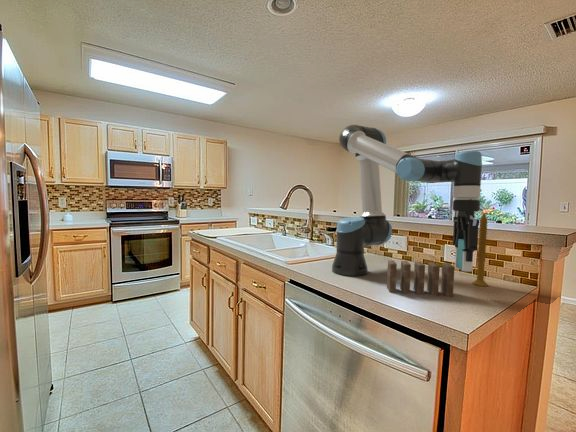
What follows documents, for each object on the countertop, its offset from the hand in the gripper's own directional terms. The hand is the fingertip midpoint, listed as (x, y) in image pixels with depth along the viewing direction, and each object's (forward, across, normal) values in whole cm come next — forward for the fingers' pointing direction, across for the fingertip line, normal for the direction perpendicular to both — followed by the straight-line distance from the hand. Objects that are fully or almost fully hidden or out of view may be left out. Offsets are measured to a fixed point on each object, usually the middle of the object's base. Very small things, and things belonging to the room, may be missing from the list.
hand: (463, 268), depth 95 cm
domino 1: (+9, 0, +23) cm, 24 cm away
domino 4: (+9, 0, +9) cm, 13 cm away
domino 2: (+9, 0, +18) cm, 20 cm away
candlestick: (+9, +14, -12) cm, 21 cm away
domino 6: (0, 0, 0) cm, 0 cm away
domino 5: (+9, 0, +5) cm, 10 cm away
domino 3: (+9, 0, +14) cm, 16 cm away
